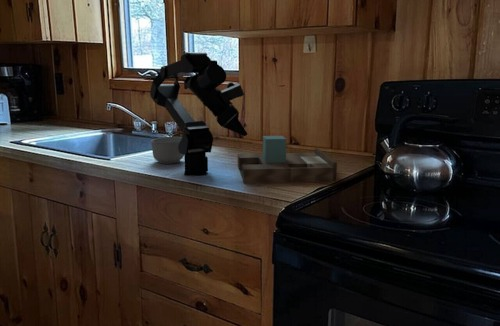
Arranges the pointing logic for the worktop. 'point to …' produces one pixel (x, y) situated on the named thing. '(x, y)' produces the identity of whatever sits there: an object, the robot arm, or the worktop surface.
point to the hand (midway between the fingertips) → (244, 132)
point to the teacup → (166, 150)
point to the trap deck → (288, 168)
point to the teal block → (274, 149)
